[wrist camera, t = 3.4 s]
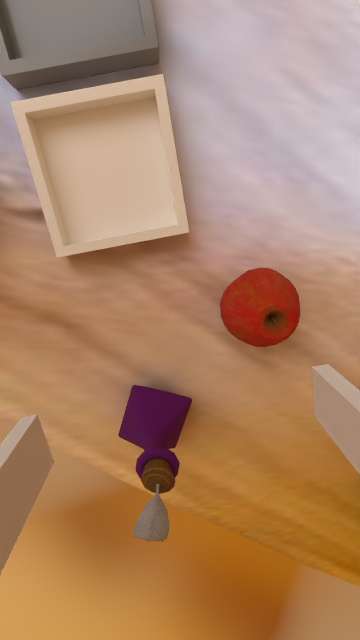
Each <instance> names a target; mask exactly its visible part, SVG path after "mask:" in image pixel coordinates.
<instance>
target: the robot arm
mask: <svg viewBox="0 0 360 640" xmlns="http://www.w3.org/2000/svg"><path fill="white" fill-rule="evenodd" d="M312 376H313V398H314V417H315V418H316V420H317V421H318V422H319V423H320V425H321V426H322V427H323V429H324V430H325V431H326V432H327V434H328V435H329V436H330V437H331V439H332V440H333V441H334V442H335V444H336V445H337V446H338V448H339V449H340V450H341V451H342V453H343V454H344V455H345V456H346V458H347V459H348V460H349V461H350V463H351V464H352V465H353V467H354V468H355V469H356V470H357V472H358V473H359V474H360V390H358V389H357V388H356V387H355V386H354V385H352V384H351V383H350V382H349V381H348V380H346V379H345V378H344V377H343V376H342V375H340V374H339V373H338V372H337V371H336V370H335V369H333V368H332V367H331V366H330V365H329V364H326V365H321V366H315V367H312ZM53 463H54V461H53V458H52V455H51V452H50V449H49V446H48V443H47V440H46V438H45V435H44V432H43V429H42V426H41V423H40V420H39V418H38V415H31V416H25V417H21V418H20V420H19V421H18V422H17V424H16V425H15V426H14V428H13V429H12V430H11V432H10V433H9V434H8V436H7V437H6V438H5V439H4V441H3V442H2V443H1V445H0V574H1V572H2V570H3V568H4V566H5V564H6V561H7V559H8V557H9V555H10V553H11V551H12V549H13V547H14V545H15V542H16V540H17V538H18V536H19V534H20V532H21V530H22V528H23V526H24V524H25V522H26V519H27V517H28V515H29V513H30V511H31V509H32V507H33V505H34V502H35V501H36V498H37V496H38V494H39V492H40V490H41V488H42V486H43V484H44V482H45V479H46V477H47V475H48V473H49V471H50V469H51V467H52V465H53Z"/></svg>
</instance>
